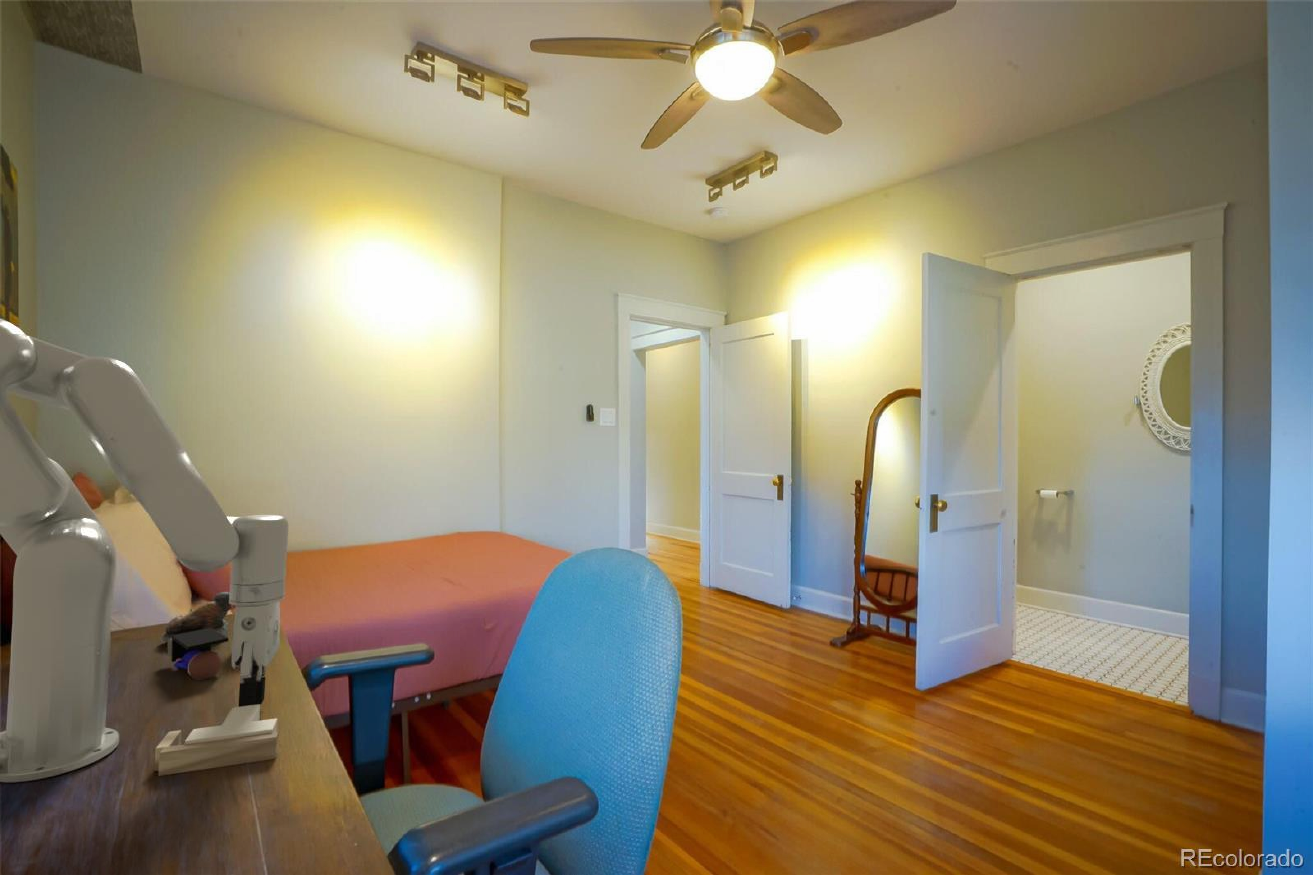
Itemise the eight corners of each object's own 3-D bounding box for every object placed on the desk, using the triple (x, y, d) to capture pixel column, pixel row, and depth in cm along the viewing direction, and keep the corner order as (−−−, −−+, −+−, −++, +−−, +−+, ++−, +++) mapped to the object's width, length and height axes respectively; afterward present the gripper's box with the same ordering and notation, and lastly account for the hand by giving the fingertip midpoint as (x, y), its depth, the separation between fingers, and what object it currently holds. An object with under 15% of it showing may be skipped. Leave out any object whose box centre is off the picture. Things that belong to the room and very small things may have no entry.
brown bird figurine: (157, 648, 120) (160, 600, 121) (166, 638, 127) (169, 592, 127) (229, 641, 126) (231, 595, 126) (234, 632, 132) (236, 587, 133)
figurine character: (162, 673, 112) (185, 686, 103) (163, 632, 112) (186, 642, 103) (205, 664, 117) (231, 675, 108) (206, 625, 118) (232, 633, 109)
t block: (271, 754, 82) (272, 729, 82) (183, 767, 78) (185, 741, 78) (283, 723, 91) (284, 701, 91) (205, 734, 87) (206, 710, 87)
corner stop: (275, 758, 81) (276, 736, 81) (149, 777, 76) (150, 753, 76) (284, 737, 87) (285, 717, 87) (167, 753, 81) (169, 731, 82)
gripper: (274, 601, 90) (267, 721, 89) (293, 580, 104) (287, 684, 103) (215, 604, 87) (208, 728, 87) (243, 582, 101) (236, 689, 100)
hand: (251, 704), depth 95 cm, fingers closed
